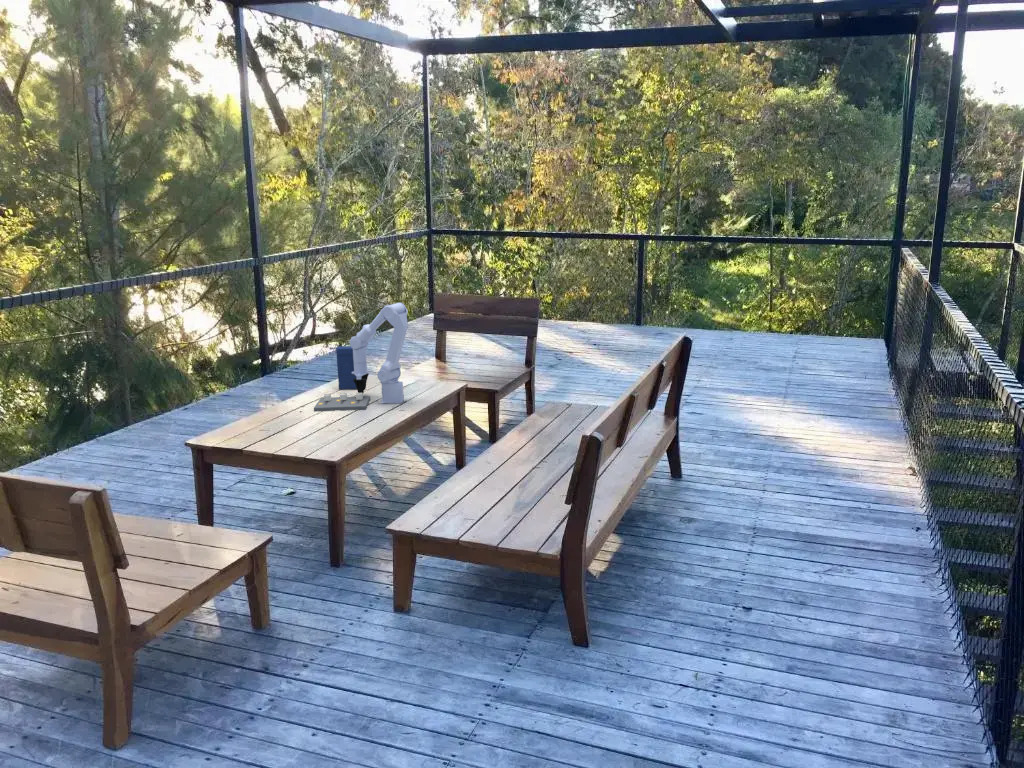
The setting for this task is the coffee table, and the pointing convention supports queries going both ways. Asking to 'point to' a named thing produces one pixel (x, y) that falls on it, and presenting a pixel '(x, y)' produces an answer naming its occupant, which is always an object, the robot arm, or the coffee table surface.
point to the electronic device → (345, 367)
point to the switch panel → (342, 404)
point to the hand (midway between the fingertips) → (362, 391)
